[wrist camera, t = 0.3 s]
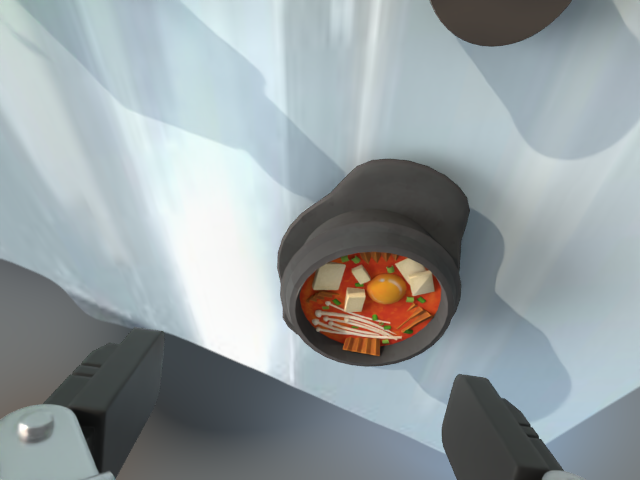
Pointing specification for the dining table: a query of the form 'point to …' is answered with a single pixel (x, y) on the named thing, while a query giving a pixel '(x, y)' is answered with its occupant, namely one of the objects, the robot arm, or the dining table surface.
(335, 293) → the casserole
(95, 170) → the dining table surface
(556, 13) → the stand
